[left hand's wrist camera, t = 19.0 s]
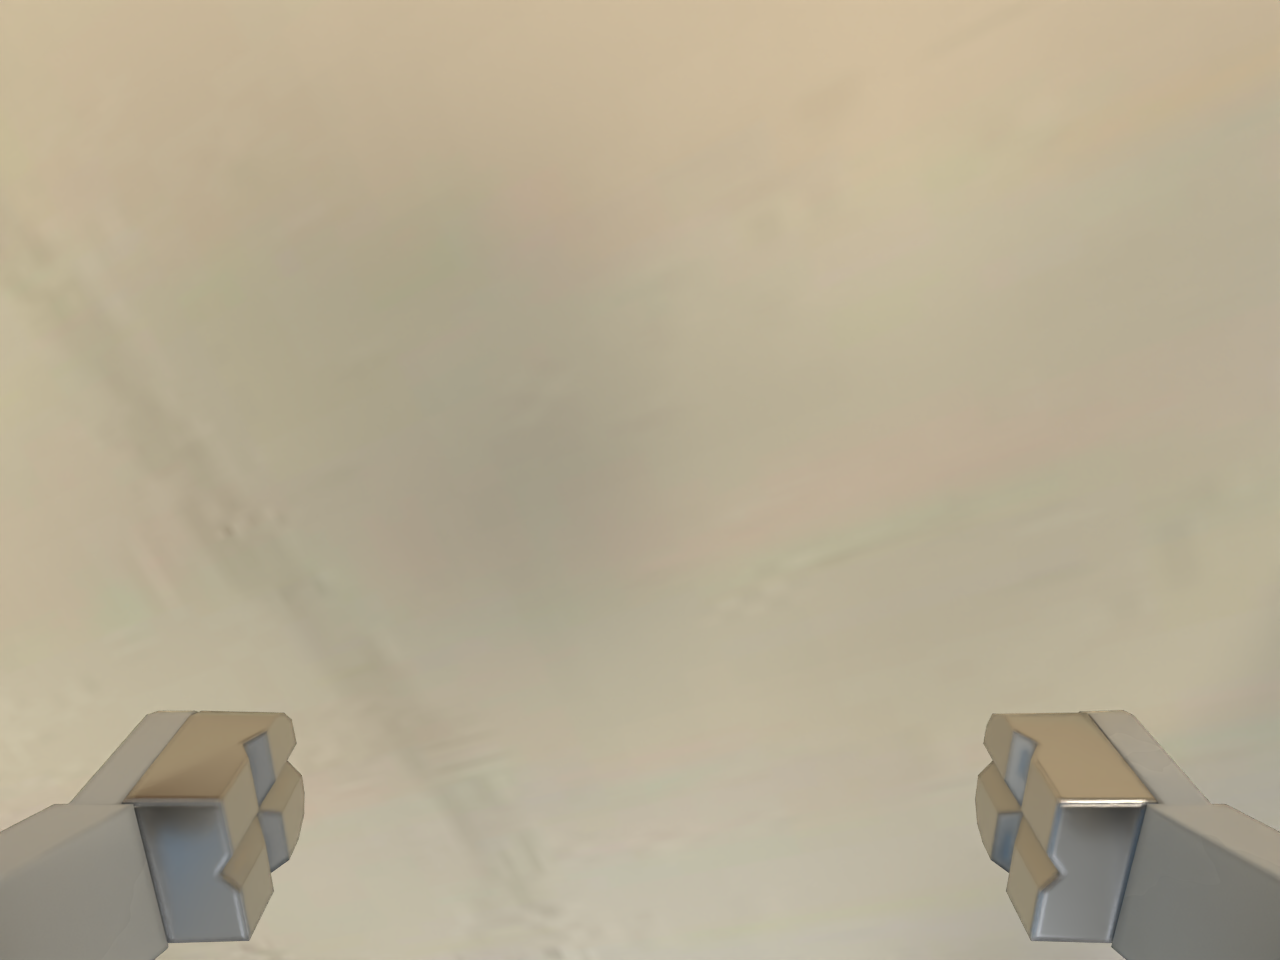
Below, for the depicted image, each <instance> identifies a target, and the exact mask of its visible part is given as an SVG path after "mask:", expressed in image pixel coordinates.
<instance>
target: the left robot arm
mask: <svg viewBox="0 0 1280 960" xmlns="http://www.w3.org/2000/svg"><path fill="white" fill-rule="evenodd" d="M296 744H297V743H296V738H295V733H294V728H293V724H292V719H291V718H289V717H288V716H287V715H286V714H285V713H276V712H229V711H200V712H197V711H156V712H153V713H150V714H147V715H146V716H145V717H144V718H143V719H142V721H141V722H140V723H139V724H138V725H137V726H136V727H135V729H134V730H133V731H132V732H131V733H130V734H129V735H128V737H127V738H126V739H125V740H124V741H123V742H122V743H121V745H120V746H119V747H118V748H117V749H116V750H115V751H114V753H113V754H112V755H111V756H110V757H109V758H108V759H107V761H106V762H105V763H104V764H103V765H102V766H101V767H100V769H99V770H98V771H97V772H96V773H95V774H94V775H93V777H92V778H91V779H90V780H89V781H88V782H87V784H86V785H85V786H84V787H83V788H82V789H81V790H80V792H79V793H78V794H77V795H76V796H75V797H74V798H73V800H72V801H71V802H70V803H69V804H54V805H52V806H50V807H48V808H46V809H44V810H42V811H40V812H38V813H36V814H34V815H32V816H30V817H28V818H26V819H24V820H23V821H21V822H19V823H17V824H15V825H13V826H11V827H9V828H7V829H5V830H3V831H1V832H0V960H154V959H155V958H157V957H158V956H159V955H160V954H161V953H163V952H164V951H165V950H166V949H167V948H168V943H186V942H220V941H249V940H250V938H251V936H252V934H253V932H254V930H255V928H256V926H257V924H258V922H259V920H260V918H261V916H262V914H263V912H264V910H265V908H266V906H267V904H268V902H269V900H270V898H271V896H272V894H273V892H274V889H273V883H272V877H271V872H273V871H274V870H276V869H277V868H278V867H280V866H281V865H283V864H284V863H285V862H287V861H288V860H289V859H290V857H291V855H292V853H293V850H294V848H295V846H296V844H297V842H298V840H299V835H300V831H301V826H302V822H303V817H304V786H303V780H302V775H301V774H300V773H299V772H298V771H297V770H296V769H295V768H294V767H293V766H292V765H291V764H290V763H289V762H288V761H287V760H288V758H289V756H290V754H291V753H292V751H293V749H294V747H295V745H296ZM983 744H984V745H985V747H986V749H987V751H988V753H989V754H990V756H991V758H992V760H993V761H992V762H991V763H990V764H989V765H988V766H987V767H986V768H985V769H984V770H983V771H982V772H981V773H980V774H979V775H978V781H977V789H976V797H975V804H976V815H977V825H978V828H979V831H980V835H981V838H982V842H983V844H984V846H985V848H986V851H987V853H988V855H989V857H990V859H991V860H992V861H993V862H995V863H996V864H997V865H999V866H1000V867H1002V868H1003V869H1004V870H1006V871H1007V872H1009V878H1008V883H1007V889H1006V892H1007V894H1008V896H1009V898H1010V900H1011V902H1012V904H1013V906H1014V908H1015V910H1016V912H1017V914H1018V916H1019V918H1020V920H1021V922H1022V924H1023V926H1024V928H1025V930H1026V932H1027V934H1028V936H1029V938H1030V940H1031V941H1058V942H1093V943H1112V946H1111V947H1112V948H1113V949H1114V950H1116V951H1117V952H1118V953H1119V954H1120V955H1121V956H1123V957H1124V958H1125V959H1126V960H1280V832H1279V831H1277V830H1275V829H1273V828H1271V827H1269V826H1267V825H1265V824H1263V823H1261V822H1259V821H1257V820H1255V819H1254V818H1252V817H1250V816H1248V815H1246V814H1244V813H1242V812H1240V811H1238V810H1236V809H1234V808H1232V807H1230V806H1228V805H1226V804H1211V803H1210V802H1209V801H1208V800H1207V798H1206V797H1205V796H1204V795H1203V794H1202V793H1201V792H1200V790H1199V789H1198V788H1197V787H1196V786H1195V785H1194V784H1193V782H1192V781H1191V780H1190V779H1189V778H1188V777H1187V776H1186V774H1185V773H1184V772H1183V771H1182V770H1181V769H1180V768H1179V766H1178V765H1177V764H1176V763H1175V762H1174V761H1173V760H1172V758H1171V757H1170V756H1169V755H1168V754H1167V753H1166V751H1165V750H1164V749H1163V748H1162V747H1161V746H1160V745H1159V743H1158V742H1157V741H1156V740H1155V739H1154V738H1153V737H1152V735H1151V734H1150V733H1149V732H1148V731H1147V730H1146V729H1145V727H1144V726H1143V725H1142V724H1141V723H1140V722H1139V721H1138V719H1137V718H1136V717H1135V716H1134V715H1132V714H1130V713H1128V712H1126V711H1124V710H1113V711H1081V712H1079V713H1010V714H992V716H991V718H990V720H989V722H988V724H987V726H986V732H985V737H984V743H983Z"/></svg>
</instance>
